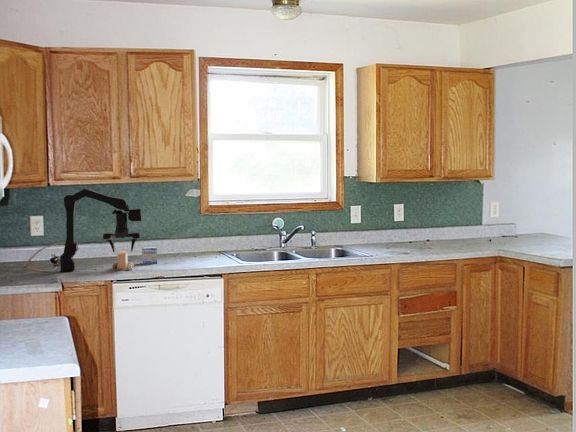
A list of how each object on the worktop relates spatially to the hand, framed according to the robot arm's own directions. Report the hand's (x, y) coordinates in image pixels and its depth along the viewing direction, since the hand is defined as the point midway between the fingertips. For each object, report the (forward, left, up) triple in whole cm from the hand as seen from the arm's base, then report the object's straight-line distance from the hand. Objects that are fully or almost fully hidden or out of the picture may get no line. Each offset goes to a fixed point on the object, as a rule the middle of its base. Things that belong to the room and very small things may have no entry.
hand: (122, 251), depth 359 cm
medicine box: (+12, +15, -9) cm, 21 cm away
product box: (0, 0, -8) cm, 8 cm away
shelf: (0, 0, -9) cm, 9 cm away
